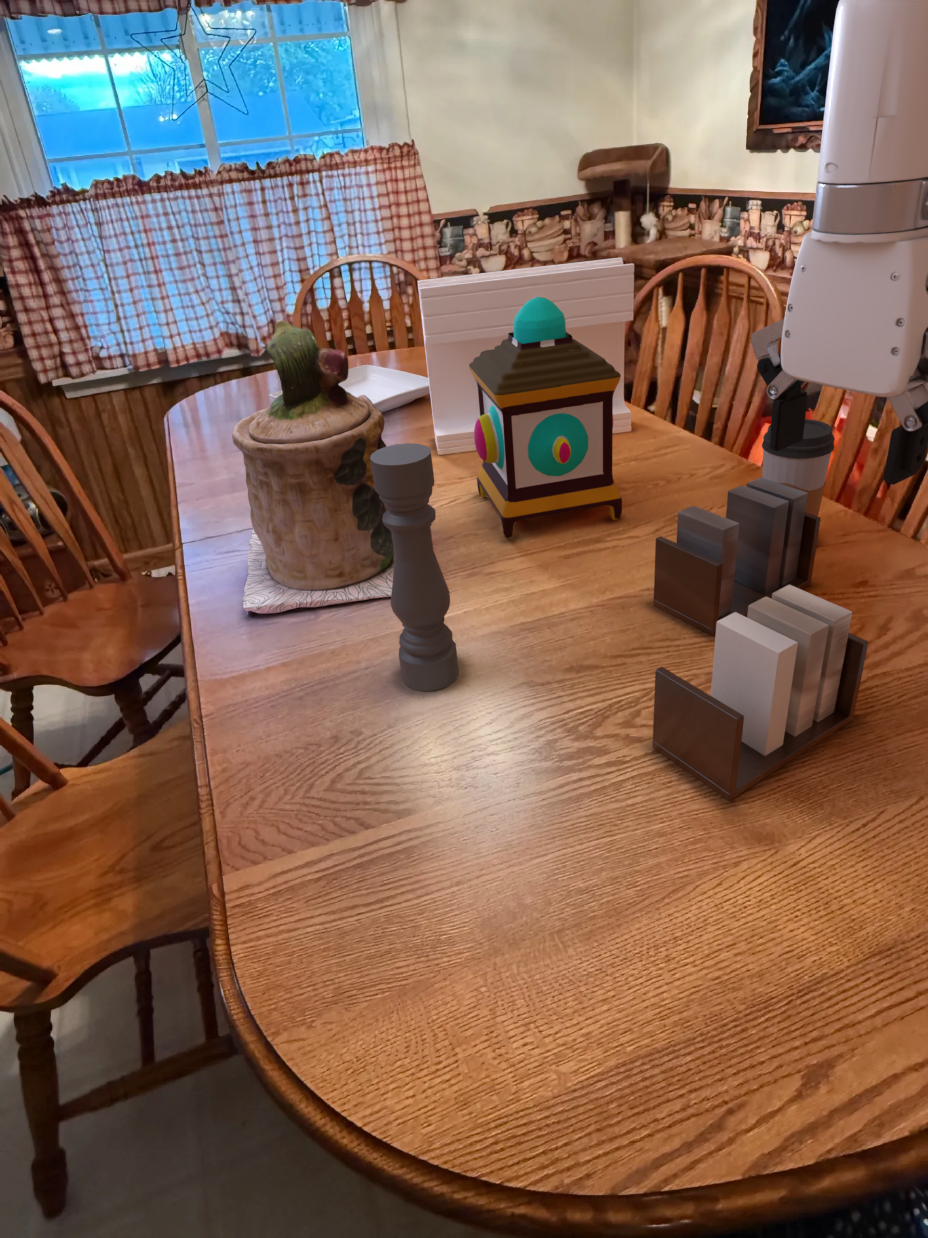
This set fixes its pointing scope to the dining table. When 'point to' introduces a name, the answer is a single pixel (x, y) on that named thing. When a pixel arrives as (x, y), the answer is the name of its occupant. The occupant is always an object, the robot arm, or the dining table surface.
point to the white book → (754, 678)
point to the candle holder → (415, 566)
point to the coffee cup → (802, 462)
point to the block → (484, 315)
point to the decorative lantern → (544, 421)
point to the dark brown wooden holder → (735, 554)
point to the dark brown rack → (817, 706)
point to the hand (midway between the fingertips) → (840, 461)
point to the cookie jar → (313, 485)
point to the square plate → (382, 386)
